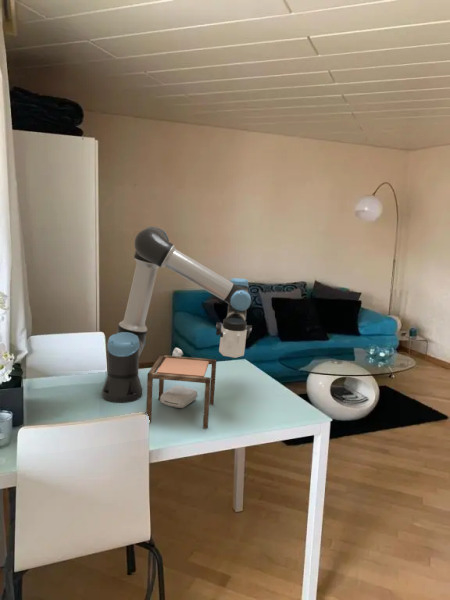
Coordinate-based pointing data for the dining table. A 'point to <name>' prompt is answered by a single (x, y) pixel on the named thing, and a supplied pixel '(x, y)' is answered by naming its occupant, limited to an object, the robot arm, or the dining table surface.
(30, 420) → the dining table surface
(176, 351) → the sitting furry creature
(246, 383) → the dining table surface
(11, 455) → the dining table surface
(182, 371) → the trapdoor
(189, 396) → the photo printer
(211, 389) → the trapdoor frame
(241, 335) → the jar
